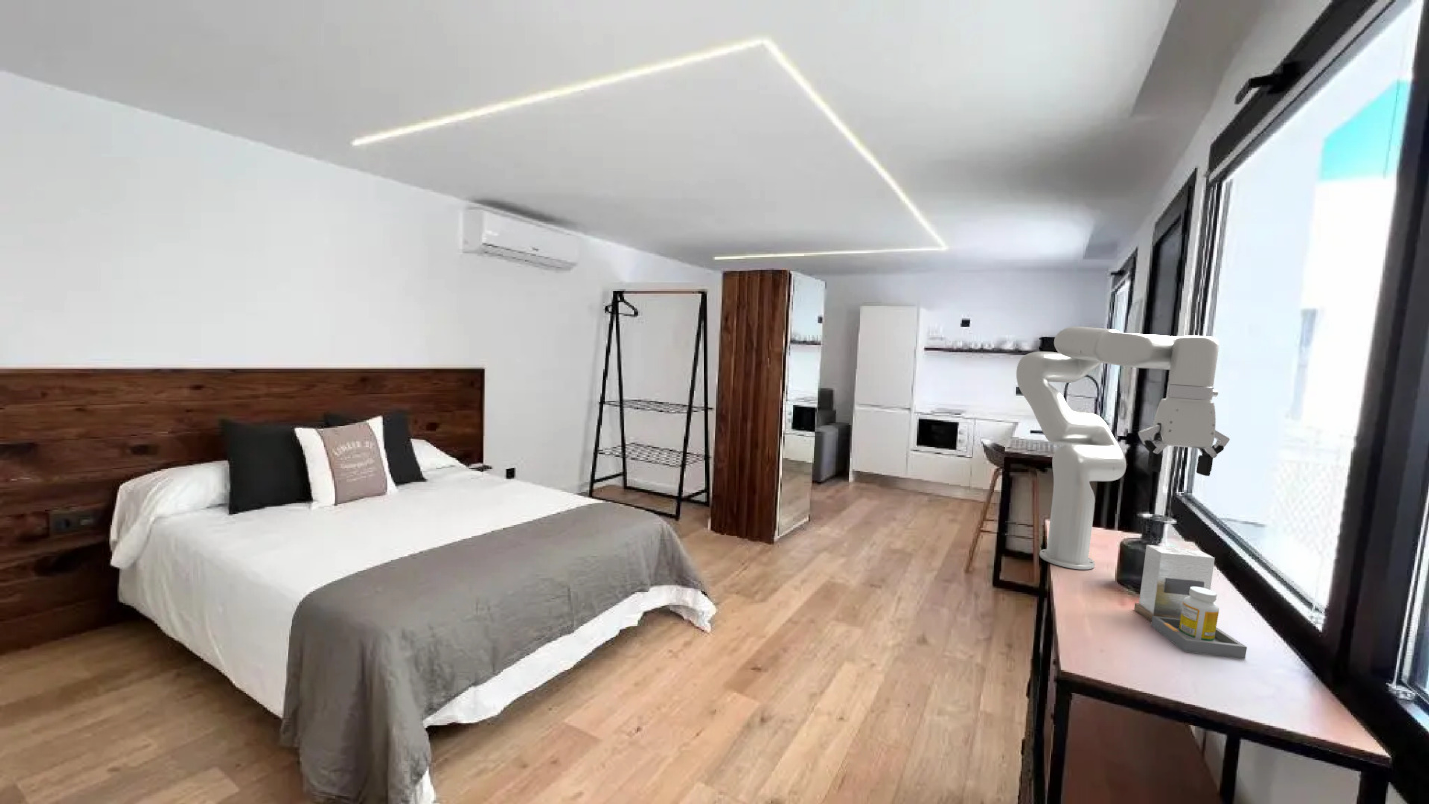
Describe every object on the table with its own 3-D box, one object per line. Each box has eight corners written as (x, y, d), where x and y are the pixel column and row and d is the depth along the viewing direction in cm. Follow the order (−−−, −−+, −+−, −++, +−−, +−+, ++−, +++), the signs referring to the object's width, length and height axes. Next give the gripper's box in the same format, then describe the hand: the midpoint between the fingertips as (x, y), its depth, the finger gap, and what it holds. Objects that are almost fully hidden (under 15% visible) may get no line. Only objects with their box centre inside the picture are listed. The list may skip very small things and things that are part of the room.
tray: (1151, 626, 118) (1152, 614, 117) (1205, 631, 116) (1207, 620, 116) (1184, 651, 108) (1186, 639, 107) (1245, 658, 106) (1247, 646, 106)
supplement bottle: (1179, 638, 111) (1186, 590, 111) (1177, 628, 116) (1183, 582, 115) (1215, 648, 108) (1223, 599, 108) (1212, 637, 113) (1219, 590, 112)
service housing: (1134, 609, 125) (1142, 543, 124) (1189, 615, 124) (1198, 548, 123) (1151, 622, 119) (1160, 553, 118) (1209, 628, 118) (1219, 558, 117)
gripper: (1220, 395, 126) (1209, 472, 127) (1134, 390, 128) (1125, 466, 129) (1247, 398, 118) (1235, 480, 120) (1156, 392, 120) (1145, 473, 122)
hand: (1178, 472), depth 125 cm, fingers open, 9 cm apart
